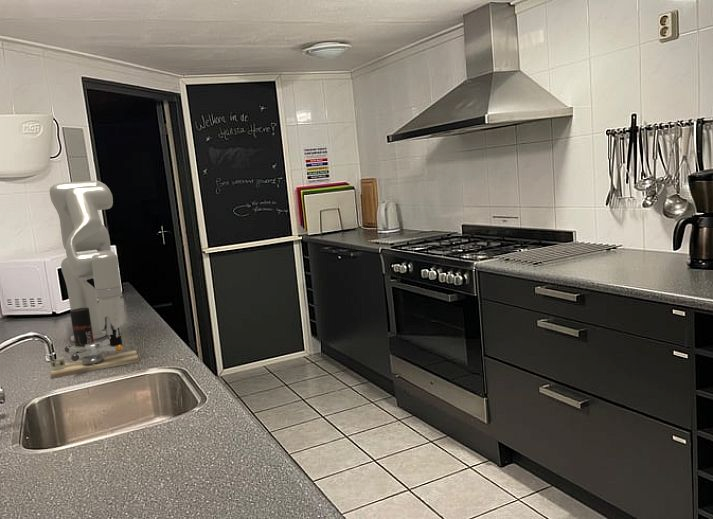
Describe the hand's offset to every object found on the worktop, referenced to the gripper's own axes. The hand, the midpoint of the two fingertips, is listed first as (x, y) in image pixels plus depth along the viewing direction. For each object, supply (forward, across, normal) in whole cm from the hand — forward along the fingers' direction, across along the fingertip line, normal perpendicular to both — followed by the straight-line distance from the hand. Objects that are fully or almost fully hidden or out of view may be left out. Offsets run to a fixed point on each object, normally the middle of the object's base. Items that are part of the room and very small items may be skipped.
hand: (116, 349), depth 190 cm
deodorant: (+5, -18, -16) cm, 24 cm away
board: (+4, +1, -7) cm, 8 cm away
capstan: (+3, +1, -7) cm, 7 cm away
